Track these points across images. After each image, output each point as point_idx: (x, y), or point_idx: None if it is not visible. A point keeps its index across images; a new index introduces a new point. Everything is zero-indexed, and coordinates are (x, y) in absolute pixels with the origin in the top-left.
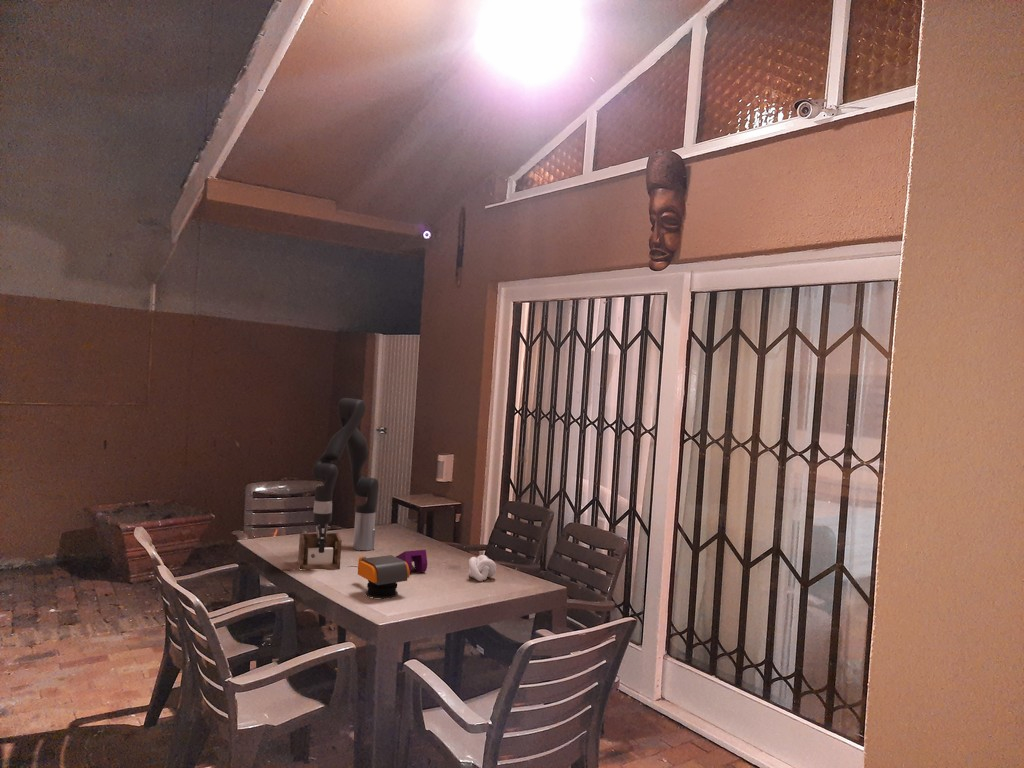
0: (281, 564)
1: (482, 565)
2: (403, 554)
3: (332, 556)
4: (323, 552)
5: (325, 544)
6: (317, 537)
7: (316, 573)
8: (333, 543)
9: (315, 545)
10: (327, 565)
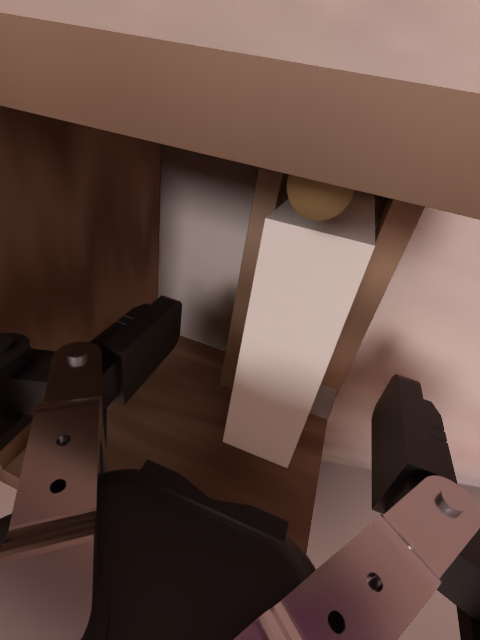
0: None
1: None
2: None
3: (373, 222)
4: (414, 383)
5: (56, 218)
6: (106, 419)
7: (462, 358)
8: (32, 115)
9: (76, 306)
10: (398, 260)
